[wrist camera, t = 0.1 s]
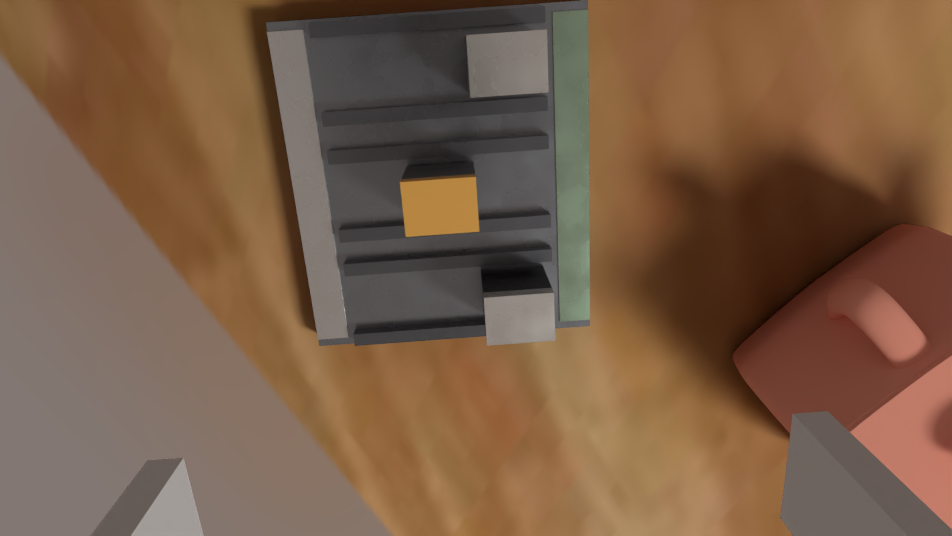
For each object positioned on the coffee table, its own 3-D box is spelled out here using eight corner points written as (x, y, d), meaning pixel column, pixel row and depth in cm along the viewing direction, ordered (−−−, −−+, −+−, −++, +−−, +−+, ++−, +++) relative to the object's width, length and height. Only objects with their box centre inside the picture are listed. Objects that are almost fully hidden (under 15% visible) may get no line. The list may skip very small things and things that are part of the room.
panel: (273, 23, 36) (237, 17, 30) (582, 2, 36) (607, -8, 30) (324, 336, 42) (302, 382, 37) (585, 316, 43) (606, 359, 37)
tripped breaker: (406, 166, 37) (399, 182, 33) (473, 161, 37) (475, 176, 33) (411, 215, 38) (405, 236, 34) (476, 210, 38) (479, 231, 34)
